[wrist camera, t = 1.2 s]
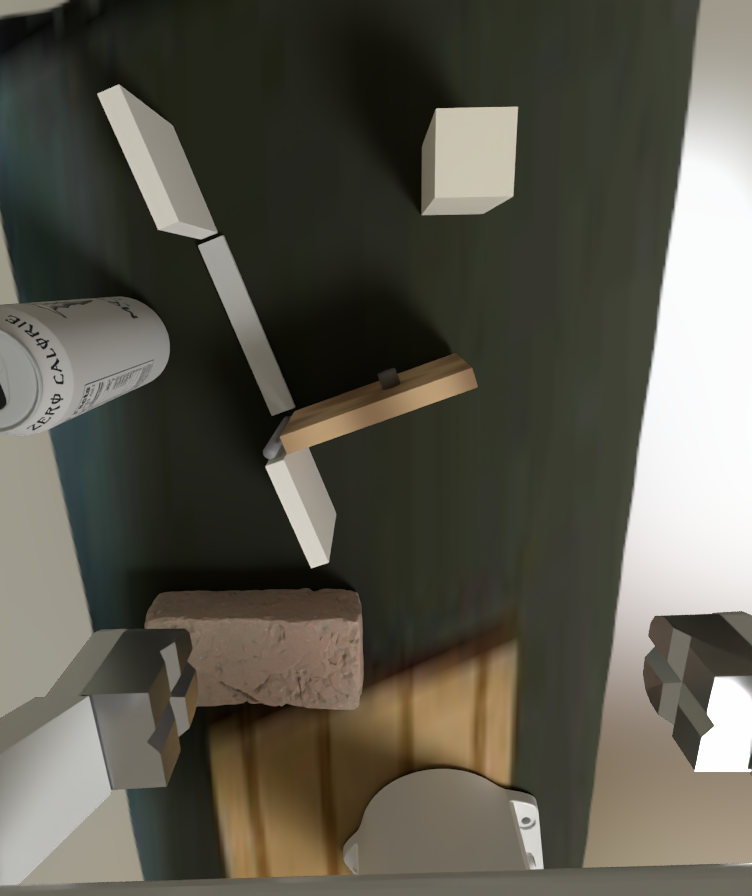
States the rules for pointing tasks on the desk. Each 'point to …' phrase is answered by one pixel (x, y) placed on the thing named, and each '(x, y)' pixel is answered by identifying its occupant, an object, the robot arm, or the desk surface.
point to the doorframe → (186, 214)
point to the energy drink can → (74, 358)
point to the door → (378, 401)
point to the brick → (270, 645)
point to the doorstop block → (468, 160)
